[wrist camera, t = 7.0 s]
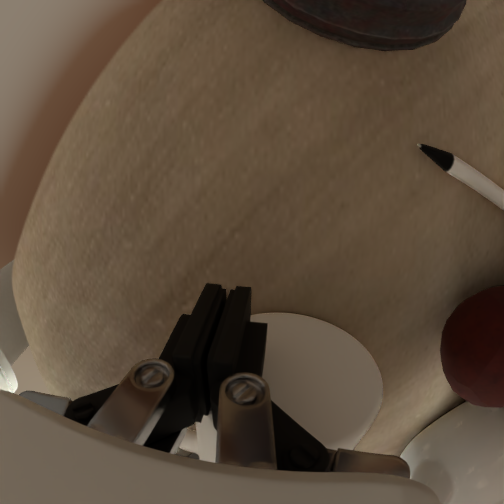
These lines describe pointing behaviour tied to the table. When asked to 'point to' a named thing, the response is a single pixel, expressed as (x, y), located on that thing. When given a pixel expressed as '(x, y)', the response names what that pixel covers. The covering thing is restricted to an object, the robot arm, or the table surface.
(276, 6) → the lantern
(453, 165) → the pen
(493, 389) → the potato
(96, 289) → the table surface
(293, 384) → the mug
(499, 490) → the teapot
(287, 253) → the table surface
